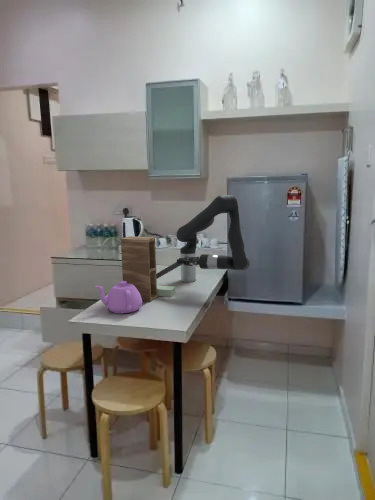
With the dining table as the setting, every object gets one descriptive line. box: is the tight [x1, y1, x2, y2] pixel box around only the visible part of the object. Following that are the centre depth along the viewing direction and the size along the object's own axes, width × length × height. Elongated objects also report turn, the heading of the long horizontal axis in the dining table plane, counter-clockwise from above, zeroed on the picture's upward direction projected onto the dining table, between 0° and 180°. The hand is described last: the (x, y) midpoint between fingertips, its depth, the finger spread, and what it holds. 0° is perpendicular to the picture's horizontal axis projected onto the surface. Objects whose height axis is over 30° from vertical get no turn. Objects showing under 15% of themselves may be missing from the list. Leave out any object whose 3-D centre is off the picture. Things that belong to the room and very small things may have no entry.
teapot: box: [94, 280, 143, 314], centre depth 185 cm, size 22×22×14 cm
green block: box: [157, 285, 176, 298], centre depth 211 cm, size 7×16×4 cm, turn 71°
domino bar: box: [156, 256, 189, 279], centre depth 207 cm, size 3×24×3 cm
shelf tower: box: [120, 235, 158, 303], centre depth 201 cm, size 9×15×32 cm, turn 71°
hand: (178, 260), depth 205 cm, fingers closed on domino bar, 2 cm apart
